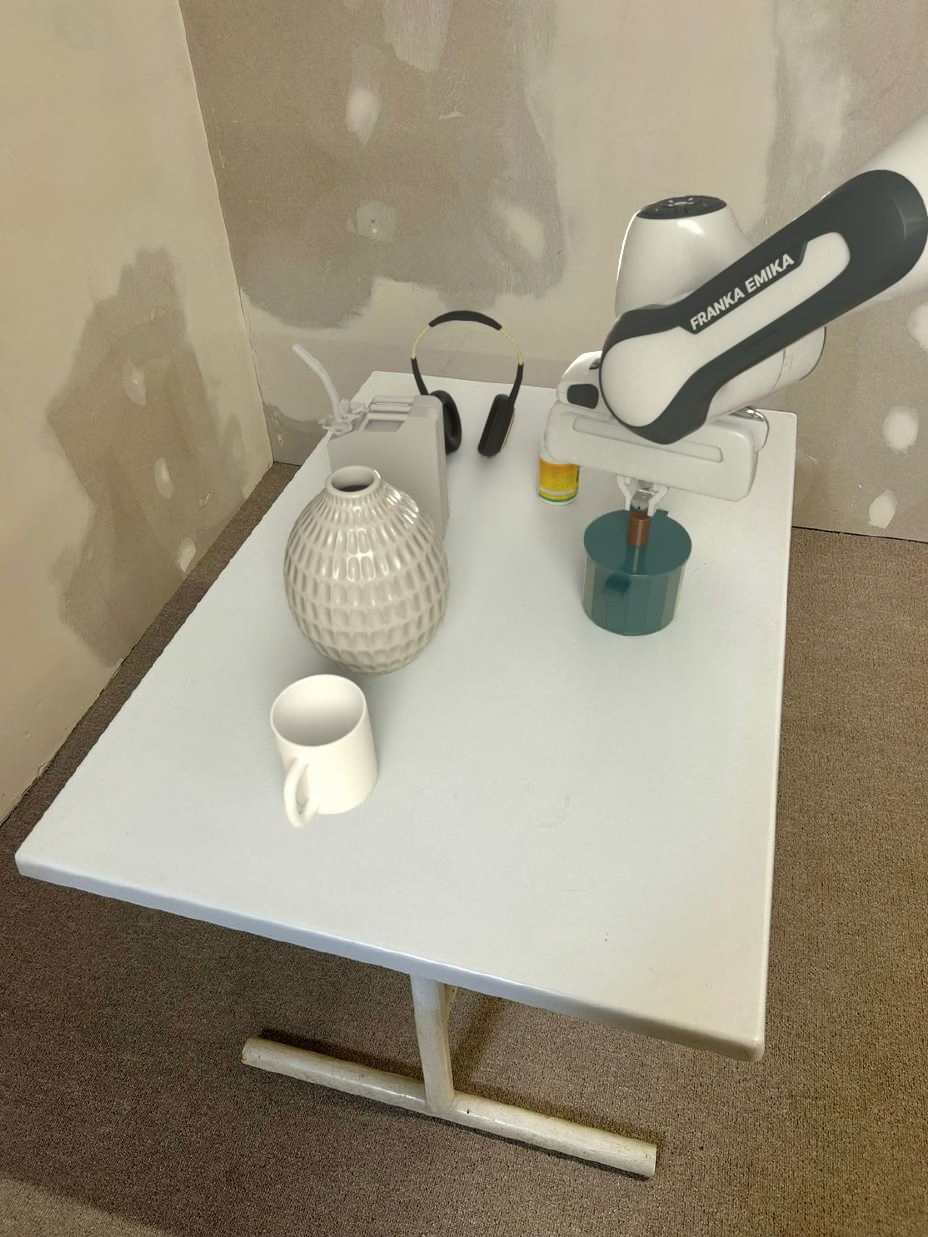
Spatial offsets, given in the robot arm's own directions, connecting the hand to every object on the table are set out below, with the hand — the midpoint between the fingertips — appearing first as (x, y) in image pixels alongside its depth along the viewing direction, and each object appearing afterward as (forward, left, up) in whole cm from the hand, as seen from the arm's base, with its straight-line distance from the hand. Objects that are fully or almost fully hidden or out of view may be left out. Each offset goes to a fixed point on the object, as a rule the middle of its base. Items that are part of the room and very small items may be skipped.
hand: (640, 510), depth 88 cm
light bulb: (+5, -22, -13) cm, 26 cm away
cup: (+17, +36, -13) cm, 42 cm away
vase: (+22, +18, -13) cm, 31 cm away
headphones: (+30, -21, -13) cm, 39 cm away
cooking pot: (0, 0, -13) cm, 13 cm away
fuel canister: (+32, -1, -13) cm, 35 cm away
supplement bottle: (+15, -16, -13) cm, 26 cm away
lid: (0, 0, -4) cm, 5 cm away
